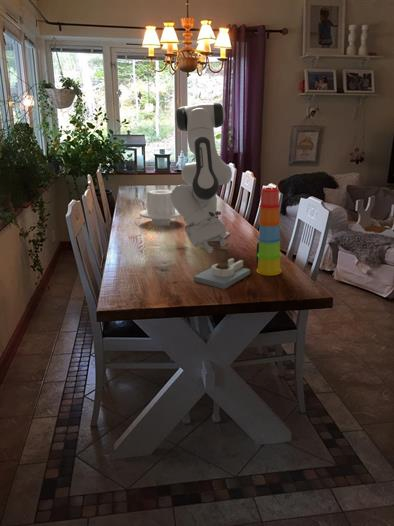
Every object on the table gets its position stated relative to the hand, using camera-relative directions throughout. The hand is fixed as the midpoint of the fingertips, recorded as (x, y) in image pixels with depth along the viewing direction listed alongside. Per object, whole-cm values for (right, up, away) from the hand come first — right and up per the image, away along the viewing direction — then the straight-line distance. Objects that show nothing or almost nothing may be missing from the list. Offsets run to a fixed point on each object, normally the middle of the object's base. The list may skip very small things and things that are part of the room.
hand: (218, 248), depth 173 cm
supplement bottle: (+21, -6, +19) cm, 29 cm away
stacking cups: (+21, -10, +8) cm, 25 cm away
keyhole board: (+2, -11, +2) cm, 12 cm away
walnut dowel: (+2, -9, +1) cm, 10 cm away
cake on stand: (-30, +17, +86) cm, 93 cm away
